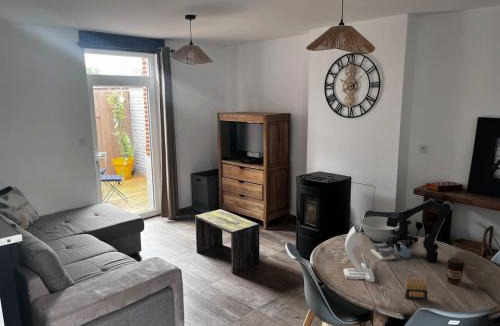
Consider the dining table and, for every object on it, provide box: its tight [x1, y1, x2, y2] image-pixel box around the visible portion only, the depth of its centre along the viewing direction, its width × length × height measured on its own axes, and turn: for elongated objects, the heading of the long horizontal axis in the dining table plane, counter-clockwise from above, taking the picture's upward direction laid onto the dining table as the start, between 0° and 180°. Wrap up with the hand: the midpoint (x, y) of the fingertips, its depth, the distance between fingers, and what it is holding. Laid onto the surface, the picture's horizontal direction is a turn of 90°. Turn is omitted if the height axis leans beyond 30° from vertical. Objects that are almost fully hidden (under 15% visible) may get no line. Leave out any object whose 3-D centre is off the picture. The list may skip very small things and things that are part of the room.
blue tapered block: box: [393, 241, 412, 259], centre depth 238 cm, size 12×4×5 cm, turn 9°
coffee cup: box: [446, 257, 466, 285], centre depth 200 cm, size 9×8×13 cm
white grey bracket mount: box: [370, 242, 395, 261], centre depth 235 cm, size 13×9×6 cm
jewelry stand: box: [343, 225, 375, 283], centre depth 214 cm, size 25×16×25 cm, turn 173°
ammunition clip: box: [403, 275, 429, 301], centre depth 186 cm, size 11×2×12 cm, turn 81°
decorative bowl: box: [360, 215, 399, 243], centre depth 261 cm, size 27×27×12 cm
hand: (402, 251), depth 238 cm, fingers open, 5 cm apart
